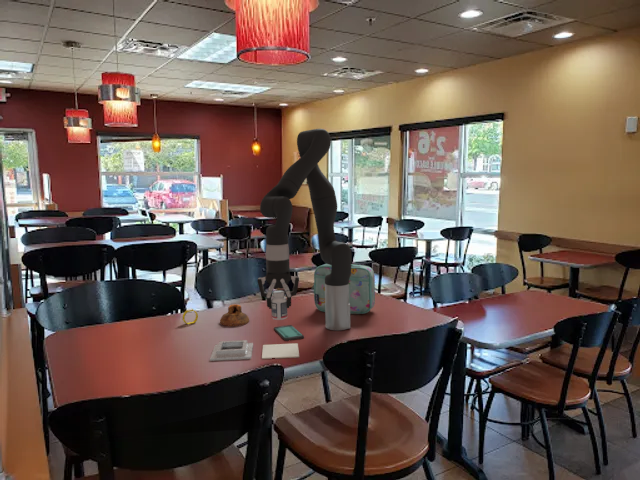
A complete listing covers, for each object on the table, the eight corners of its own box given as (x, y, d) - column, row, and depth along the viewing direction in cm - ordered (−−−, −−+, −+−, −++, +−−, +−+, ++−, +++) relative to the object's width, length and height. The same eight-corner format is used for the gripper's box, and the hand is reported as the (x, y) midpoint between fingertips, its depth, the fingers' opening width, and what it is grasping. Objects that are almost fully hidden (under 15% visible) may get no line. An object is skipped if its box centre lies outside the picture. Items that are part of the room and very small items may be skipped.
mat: (297, 344, 168) (297, 343, 168) (299, 357, 157) (299, 356, 157) (263, 346, 167) (263, 344, 167) (261, 359, 156) (261, 357, 156)
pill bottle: (287, 315, 163) (287, 289, 162) (287, 320, 158) (286, 293, 157) (272, 315, 163) (271, 290, 162) (271, 320, 158) (270, 294, 157)
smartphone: (291, 324, 188) (304, 335, 175) (291, 327, 189) (304, 339, 175) (272, 326, 186) (284, 338, 172) (273, 329, 186) (285, 341, 172)
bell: (252, 318, 200) (251, 301, 200) (245, 327, 189) (244, 309, 188) (224, 318, 202) (224, 301, 201) (215, 327, 190) (215, 309, 189)
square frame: (253, 344, 169) (252, 338, 168) (251, 359, 156) (250, 351, 156) (215, 346, 168) (215, 339, 167) (210, 361, 155) (209, 353, 154)
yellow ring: (185, 326, 192) (183, 312, 191) (182, 324, 194) (180, 310, 193) (199, 322, 195) (197, 308, 194) (196, 320, 198) (194, 306, 197)
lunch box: (309, 312, 207) (308, 263, 204) (317, 306, 216) (316, 259, 213) (371, 317, 199) (371, 265, 196) (376, 310, 209) (376, 261, 206)
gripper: (299, 255, 162) (300, 304, 164) (256, 256, 161) (257, 305, 163) (300, 258, 155) (301, 310, 157) (255, 260, 153) (256, 312, 156)
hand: (279, 307), depth 160 cm, fingers closed on pill bottle, 5 cm apart
